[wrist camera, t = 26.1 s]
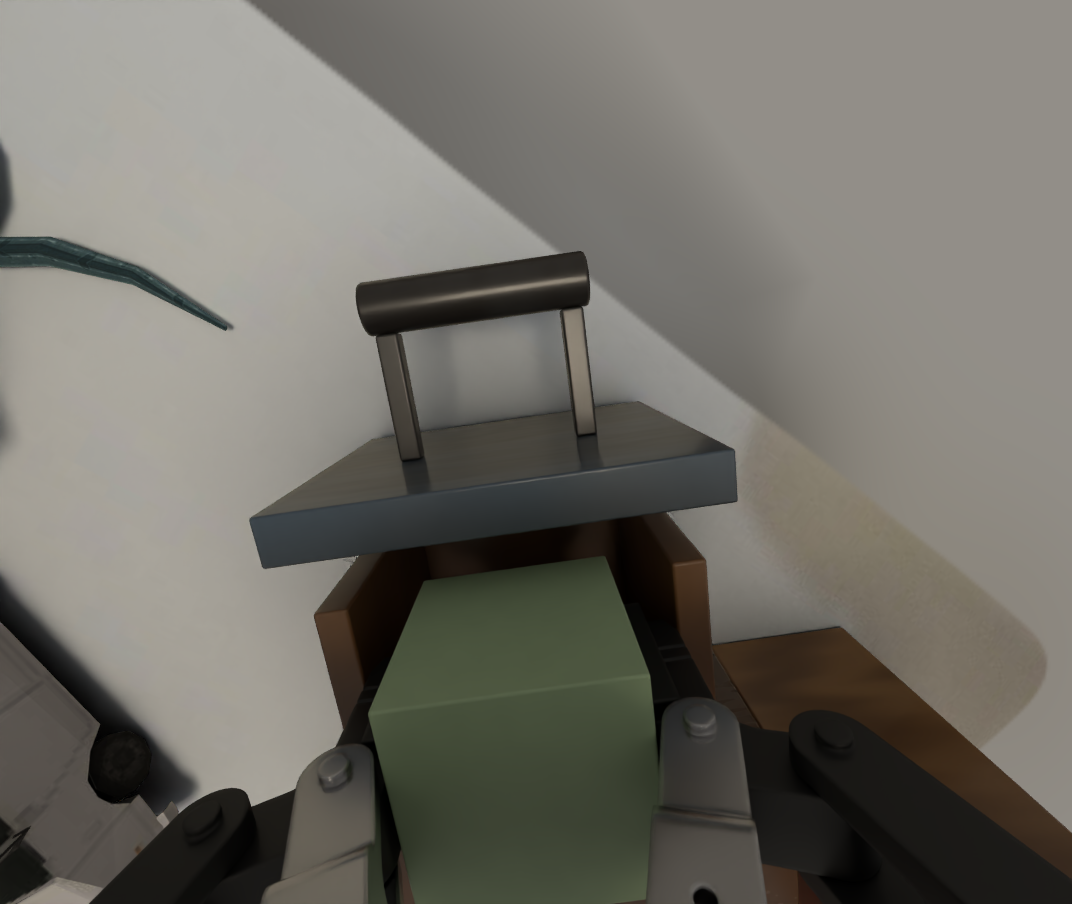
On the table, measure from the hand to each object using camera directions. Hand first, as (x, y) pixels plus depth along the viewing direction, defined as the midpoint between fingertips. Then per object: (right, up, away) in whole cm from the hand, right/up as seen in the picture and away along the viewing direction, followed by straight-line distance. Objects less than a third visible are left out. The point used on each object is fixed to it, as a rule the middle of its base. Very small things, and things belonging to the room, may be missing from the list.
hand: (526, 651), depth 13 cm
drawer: (-1, +4, +7) cm, 8 cm away
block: (0, 0, 0) cm, 0 cm away
